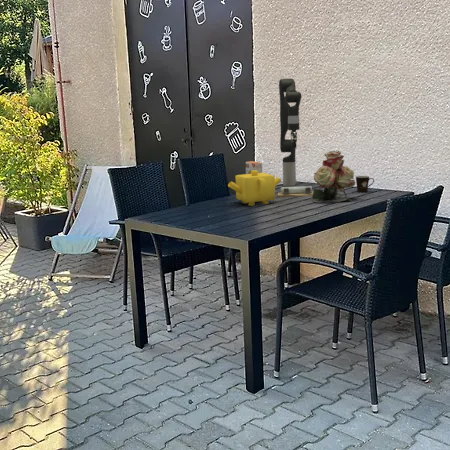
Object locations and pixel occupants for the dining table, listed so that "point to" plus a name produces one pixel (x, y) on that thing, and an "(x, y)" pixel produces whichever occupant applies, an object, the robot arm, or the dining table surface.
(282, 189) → the rod
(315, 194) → the rose bouquet
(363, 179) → the coffee mug
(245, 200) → the yellow boxy teapot
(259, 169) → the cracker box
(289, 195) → the clip board
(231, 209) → the dining table surface
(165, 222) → the dining table surface
